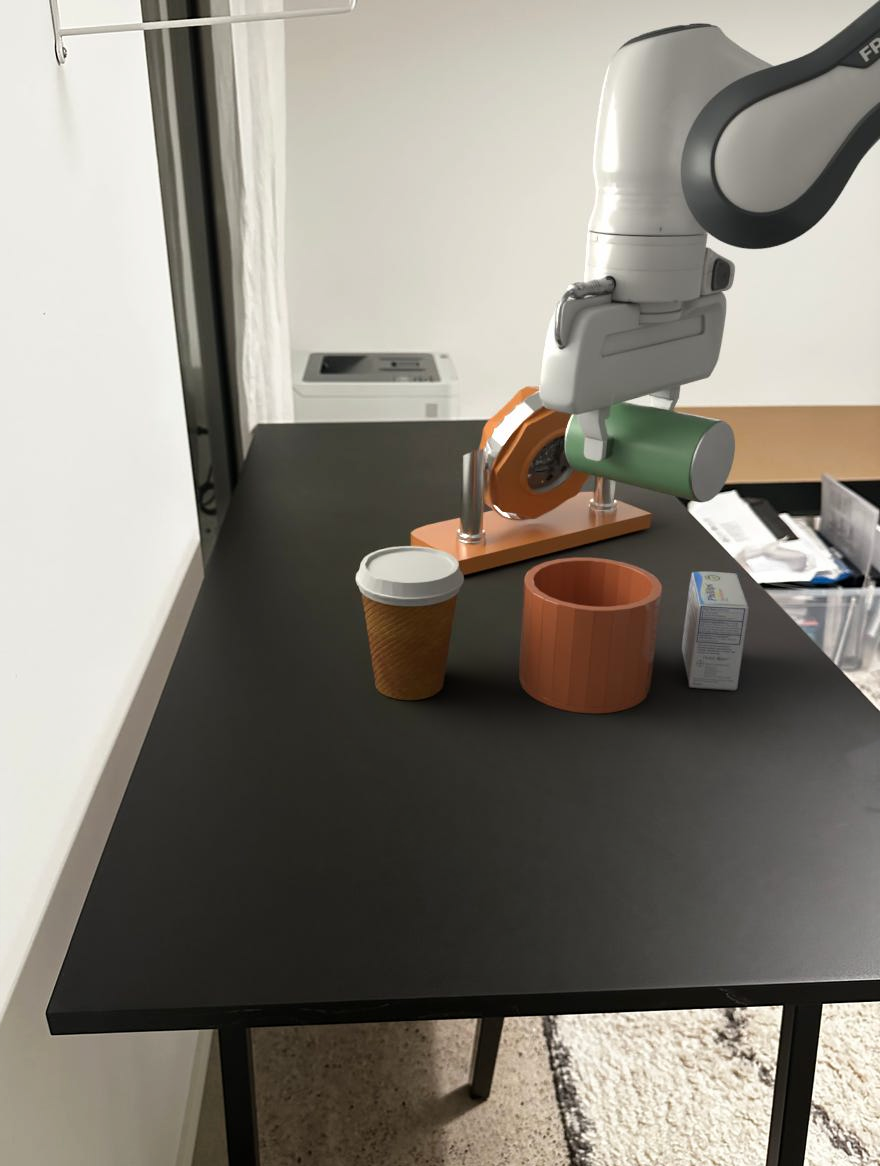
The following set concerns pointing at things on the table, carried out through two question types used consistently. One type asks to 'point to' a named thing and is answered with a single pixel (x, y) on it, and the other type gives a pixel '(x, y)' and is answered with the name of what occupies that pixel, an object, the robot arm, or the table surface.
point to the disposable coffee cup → (409, 617)
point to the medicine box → (714, 630)
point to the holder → (588, 634)
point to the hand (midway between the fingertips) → (625, 449)
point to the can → (659, 451)
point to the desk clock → (526, 494)
